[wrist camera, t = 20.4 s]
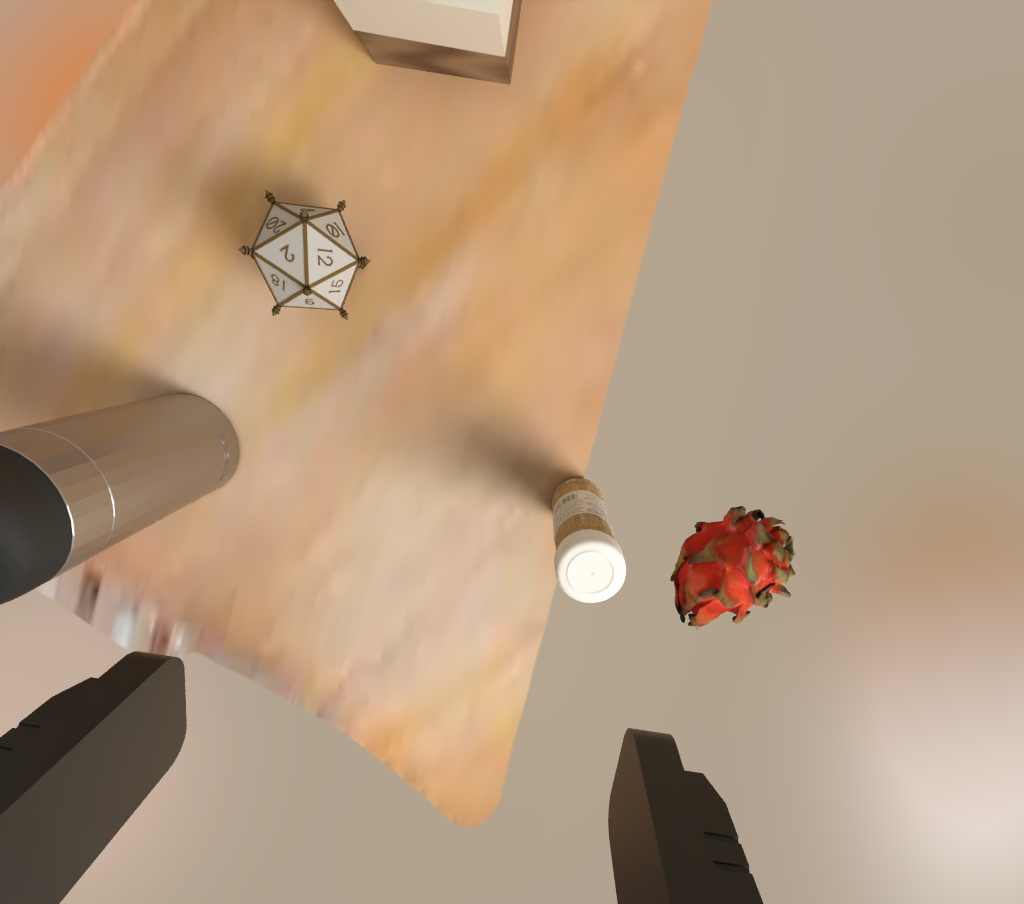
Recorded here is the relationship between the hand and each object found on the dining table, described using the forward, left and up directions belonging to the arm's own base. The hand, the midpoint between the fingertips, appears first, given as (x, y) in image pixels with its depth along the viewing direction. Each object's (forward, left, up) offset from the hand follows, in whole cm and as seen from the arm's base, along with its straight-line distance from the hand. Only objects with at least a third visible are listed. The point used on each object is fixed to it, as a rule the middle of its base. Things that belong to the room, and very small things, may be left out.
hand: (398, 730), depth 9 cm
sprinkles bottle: (+7, -8, -36) cm, 38 cm away
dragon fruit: (+20, -11, -36) cm, 43 cm away
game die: (-16, +9, -36) cm, 41 cm away
